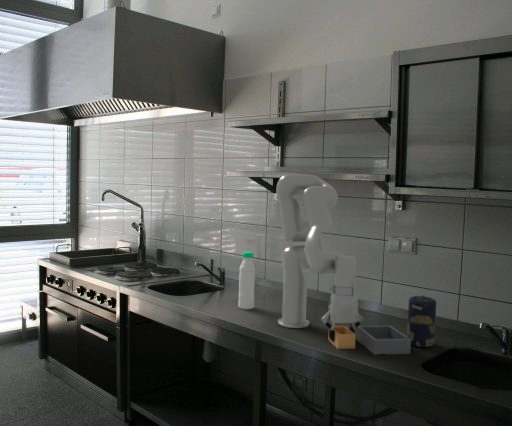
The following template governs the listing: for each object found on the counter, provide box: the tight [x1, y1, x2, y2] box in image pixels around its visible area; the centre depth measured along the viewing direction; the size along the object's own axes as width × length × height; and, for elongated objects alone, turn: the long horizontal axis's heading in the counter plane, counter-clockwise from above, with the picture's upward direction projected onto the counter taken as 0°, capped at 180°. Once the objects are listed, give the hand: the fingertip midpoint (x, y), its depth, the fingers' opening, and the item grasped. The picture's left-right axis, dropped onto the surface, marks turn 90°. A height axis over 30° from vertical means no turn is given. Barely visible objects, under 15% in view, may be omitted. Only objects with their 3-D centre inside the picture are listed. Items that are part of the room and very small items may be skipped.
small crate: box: [328, 325, 357, 350], centre depth 184 cm, size 10×6×5 cm, turn 11°
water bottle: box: [237, 251, 256, 310], centre depth 228 cm, size 7×7×25 cm
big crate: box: [356, 325, 412, 356], centre depth 182 cm, size 16×13×5 cm
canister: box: [406, 295, 437, 348], centre depth 186 cm, size 10×10×18 cm
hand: (341, 339), depth 184 cm, fingers closed on small crate, 6 cm apart
